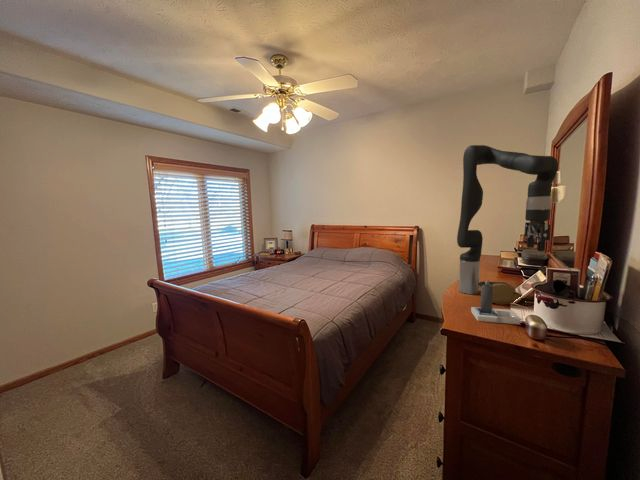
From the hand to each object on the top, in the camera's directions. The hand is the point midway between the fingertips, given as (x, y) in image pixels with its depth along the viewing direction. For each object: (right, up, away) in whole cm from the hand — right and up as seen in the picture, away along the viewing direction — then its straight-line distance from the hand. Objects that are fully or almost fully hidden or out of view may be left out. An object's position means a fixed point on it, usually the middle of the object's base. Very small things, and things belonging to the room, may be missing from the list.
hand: (535, 249), depth 104 cm
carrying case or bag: (+11, -24, +40) cm, 48 cm away
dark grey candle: (-17, -28, +4) cm, 33 cm away
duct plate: (-14, -28, +4) cm, 32 cm away
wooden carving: (-1, -26, +18) cm, 32 cm away
